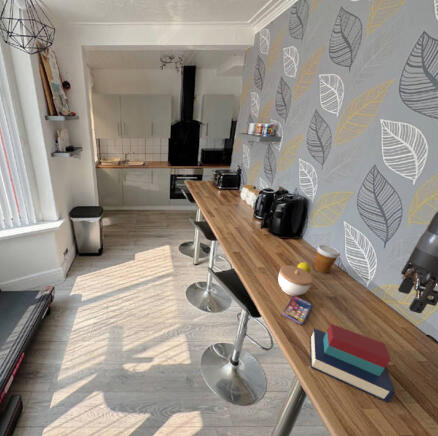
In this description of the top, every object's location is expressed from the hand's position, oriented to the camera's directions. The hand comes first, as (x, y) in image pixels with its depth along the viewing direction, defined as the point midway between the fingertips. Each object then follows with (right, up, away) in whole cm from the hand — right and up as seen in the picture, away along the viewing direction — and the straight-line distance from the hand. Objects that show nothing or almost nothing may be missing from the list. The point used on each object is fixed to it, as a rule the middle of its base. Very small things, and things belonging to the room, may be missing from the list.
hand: (408, 301), depth 64 cm
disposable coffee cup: (+19, -4, +58) cm, 61 cm away
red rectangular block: (-9, -17, +6) cm, 20 cm away
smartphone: (-11, -15, +31) cm, 36 cm away
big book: (-10, -24, +10) cm, 27 cm away
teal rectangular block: (-9, -20, +8) cm, 23 cm away
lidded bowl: (-7, -10, +42) cm, 43 cm away
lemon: (+4, -6, +52) cm, 52 cm away
